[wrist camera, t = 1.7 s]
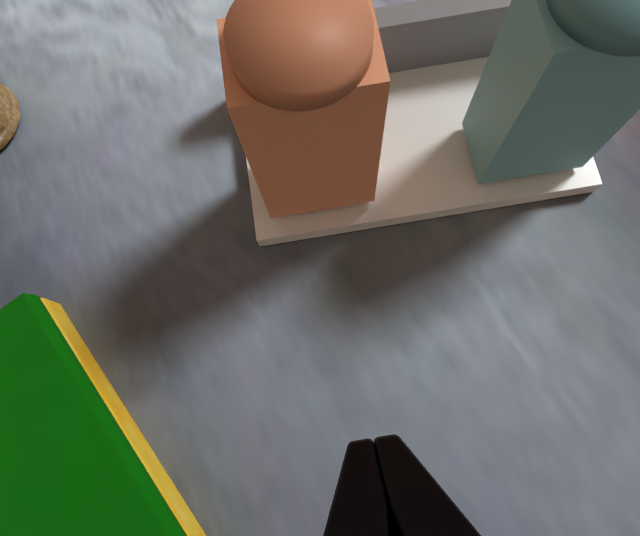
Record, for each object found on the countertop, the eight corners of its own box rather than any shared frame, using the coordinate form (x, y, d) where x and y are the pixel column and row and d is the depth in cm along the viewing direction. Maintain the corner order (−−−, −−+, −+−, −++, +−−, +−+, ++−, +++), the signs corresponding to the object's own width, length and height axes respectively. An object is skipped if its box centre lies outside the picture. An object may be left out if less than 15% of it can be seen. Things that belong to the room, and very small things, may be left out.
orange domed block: (376, 211, 21) (396, 77, 12) (272, 228, 21) (221, 106, 12) (359, 130, 22) (368, -45, 14) (260, 146, 22) (207, -18, 14)
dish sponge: (61, 299, 22) (28, 287, 20) (237, 578, 19) (221, 602, 16) (-80, 400, 21) (-132, 399, 19) (78, 712, 18) (37, 759, 15)
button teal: (586, 177, 21) (750, 18, 12) (481, 194, 21) (572, 48, 12) (558, 97, 22) (692, -99, 13) (459, 113, 22) (530, -72, 14)
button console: (593, 191, 22) (643, 148, 18) (259, 246, 22) (242, 214, 18) (541, 40, 24) (576, -26, 20) (239, 90, 24) (220, 34, 21)
